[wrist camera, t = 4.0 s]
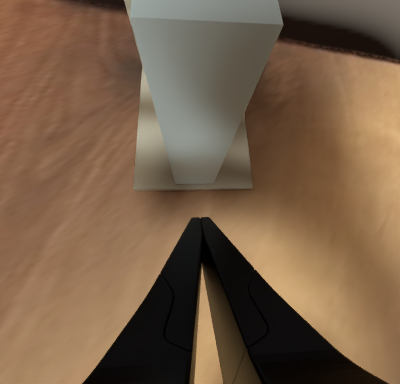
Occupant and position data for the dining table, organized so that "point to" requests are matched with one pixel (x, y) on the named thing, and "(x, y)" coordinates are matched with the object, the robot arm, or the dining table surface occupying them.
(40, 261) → the dining table surface
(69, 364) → the dining table surface
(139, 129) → the beige bookend
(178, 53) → the light gray rectangular block
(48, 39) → the dining table surface
